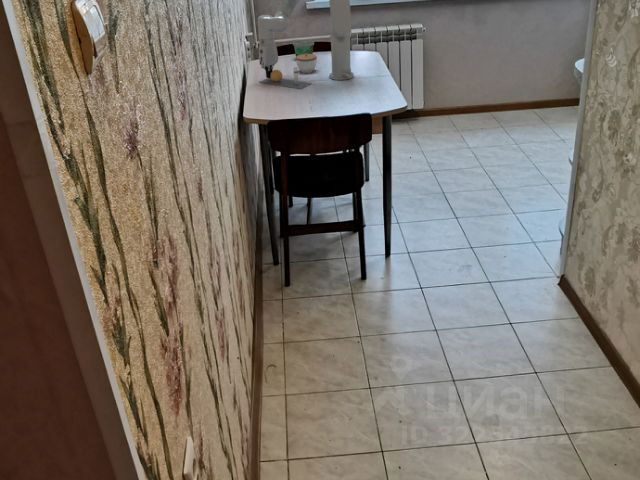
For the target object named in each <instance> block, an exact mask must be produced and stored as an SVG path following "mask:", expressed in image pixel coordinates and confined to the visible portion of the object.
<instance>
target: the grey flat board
mask: <svg viewBox="0 0 640 480" xmlns="http://www.w3.org/2000/svg"><path fill="white" fill-rule="evenodd" d="M259 83H262V84H268V85H272V86H278V85H279V87H284V86H285V87H286V88H291V89H297V90H302V89H304V88H306V87H308V86H310V85H312V84H313V83H312V82H306V81H301V80H298V83H299V84H298V85H295V84H294V79H289V78H288V79H287V78H283V77H282V79H281V80H280V81H279V82H274V81H273V80H272V79H270V78H265V79H262V80H260V81H259Z"/></svg>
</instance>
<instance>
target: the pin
mask: <svg viewBox="0 0 640 480" xmlns="http://www.w3.org/2000/svg"><path fill="white" fill-rule="evenodd" d="M293 80H294V84H295V85H298V84H299V83H298V81H299V68H298V66H297V67H293Z"/></svg>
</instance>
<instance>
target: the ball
mask: <svg viewBox="0 0 640 480" xmlns="http://www.w3.org/2000/svg"><path fill="white" fill-rule="evenodd" d="M282 78H283V73H282V71H281V70H278V69H273V71H272V72H271V79H272V80H273V81H274V82H279V81H280V80H281V79H282Z"/></svg>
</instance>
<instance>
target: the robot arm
mask: <svg viewBox="0 0 640 480" xmlns="http://www.w3.org/2000/svg"><path fill="white" fill-rule="evenodd" d="M300 1H301V0H280V3H279V5H278V7H277V9H276V11H275V14H274V16H272V15H270V14H261V15H259V16H258V17H257V29H258V41H259V42H258V43H259V45H258V61H259V65H260V68H261V69H264V71H265V77H266V78H265V79H267V78H270V79H271V72H272V71H274V66H276V64H278V62H279V54H278V48H277V44H276V42H275V32H278V33H279V32H281V33H282V32H286V30H288V28H289V25H290V19H291V17H292V15H293V12H294V10H295V8H296V6H297V5H298V3H299V2H300ZM328 2H329V11H330V20H329V22H330V23H329V28H330V46H331V47H330V48H331V49H330V51H331V53H330V54H331V55H330V56H331V73H329V74H328V77H329V79H332V80H335V81H345V80H351V79H352V78H354V76H355V74H354V72H352V69H351V33H350V32H351V29H352V21H351V20H352V18H351V15H352V14H351V2H350V0H329V1H328Z"/></svg>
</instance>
